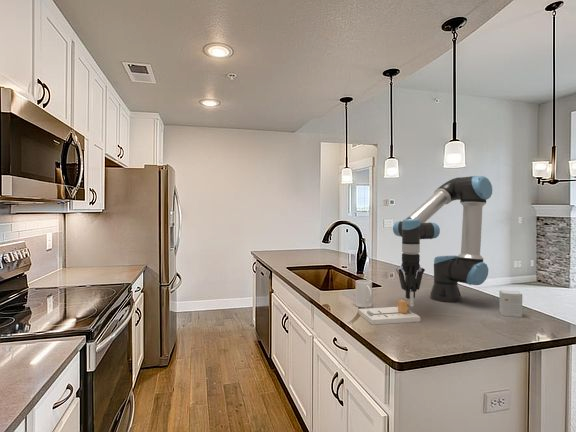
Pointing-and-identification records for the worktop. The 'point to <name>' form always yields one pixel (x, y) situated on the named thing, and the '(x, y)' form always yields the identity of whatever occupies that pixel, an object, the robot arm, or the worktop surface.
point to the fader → (402, 306)
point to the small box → (510, 303)
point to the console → (387, 315)
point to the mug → (363, 293)
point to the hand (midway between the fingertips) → (410, 305)
